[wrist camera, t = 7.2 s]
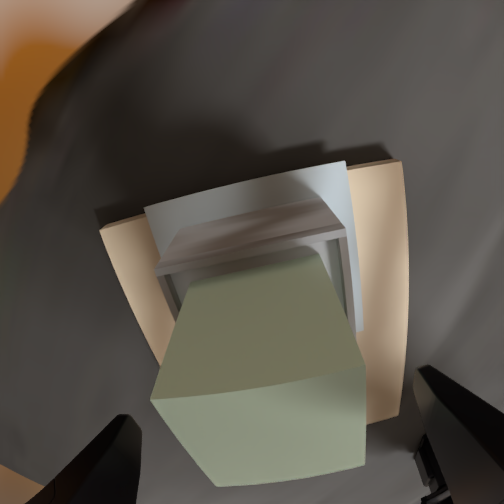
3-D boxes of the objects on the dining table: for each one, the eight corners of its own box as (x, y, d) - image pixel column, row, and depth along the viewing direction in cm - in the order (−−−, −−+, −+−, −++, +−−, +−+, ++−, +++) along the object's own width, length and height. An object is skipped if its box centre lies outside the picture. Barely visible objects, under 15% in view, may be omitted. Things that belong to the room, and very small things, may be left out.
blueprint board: (392, 149, 15) (451, 166, 10) (395, 406, 23) (414, 459, 18) (103, 216, 17) (49, 257, 11) (211, 440, 24) (205, 494, 19)
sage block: (318, 253, 12) (365, 364, 6) (333, 352, 14) (364, 464, 8) (190, 282, 12) (149, 399, 7) (226, 373, 14) (216, 486, 9)
